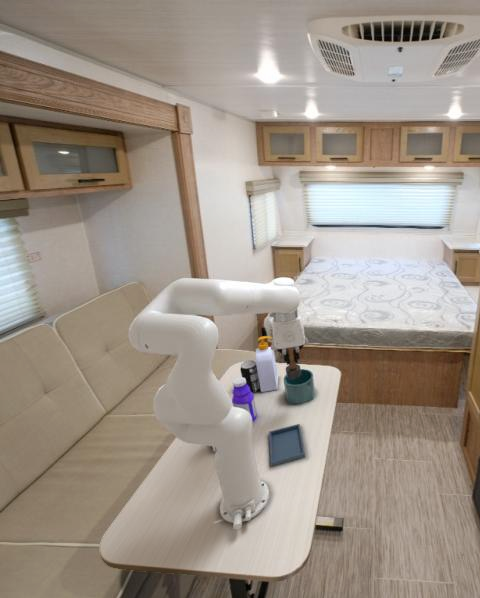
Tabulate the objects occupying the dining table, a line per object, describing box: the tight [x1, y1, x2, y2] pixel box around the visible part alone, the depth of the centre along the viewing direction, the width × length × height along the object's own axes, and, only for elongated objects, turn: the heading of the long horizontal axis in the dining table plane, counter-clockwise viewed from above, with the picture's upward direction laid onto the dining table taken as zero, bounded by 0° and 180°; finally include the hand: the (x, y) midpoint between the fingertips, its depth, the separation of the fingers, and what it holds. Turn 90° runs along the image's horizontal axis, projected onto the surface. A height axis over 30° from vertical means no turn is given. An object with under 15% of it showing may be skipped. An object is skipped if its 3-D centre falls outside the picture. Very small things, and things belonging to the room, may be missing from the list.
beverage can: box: [239, 359, 261, 393], centre depth 140 cm, size 7×7×12 cm
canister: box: [283, 368, 316, 406], centre depth 137 cm, size 11×11×9 cm
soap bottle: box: [254, 335, 279, 393], centre depth 141 cm, size 9×7×23 cm
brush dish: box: [268, 423, 306, 467], centre depth 114 cm, size 14×10×2 cm
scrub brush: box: [285, 347, 301, 379], centre depth 121 cm, size 5×5×11 cm
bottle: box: [231, 376, 258, 423], centre depth 122 cm, size 7×6×17 cm
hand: (292, 361), depth 121 cm, fingers closed on scrub brush, 2 cm apart
